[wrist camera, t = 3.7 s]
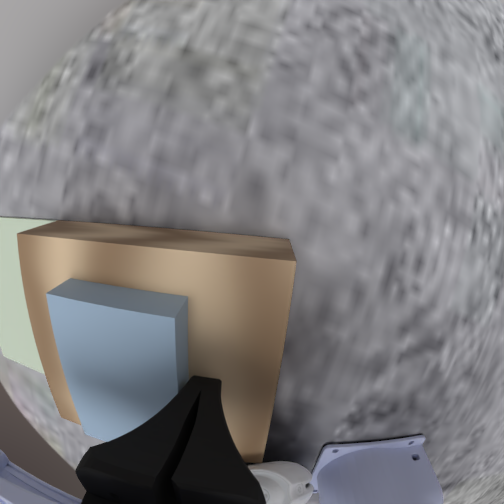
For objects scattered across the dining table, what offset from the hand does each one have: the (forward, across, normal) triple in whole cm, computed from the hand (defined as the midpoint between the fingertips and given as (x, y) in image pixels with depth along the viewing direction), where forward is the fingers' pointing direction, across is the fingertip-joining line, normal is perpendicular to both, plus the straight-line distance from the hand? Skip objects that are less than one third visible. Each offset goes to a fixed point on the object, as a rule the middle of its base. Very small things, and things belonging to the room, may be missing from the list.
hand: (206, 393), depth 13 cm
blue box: (+1, +4, 0) cm, 4 cm away
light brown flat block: (+5, +4, 0) cm, 6 cm away
